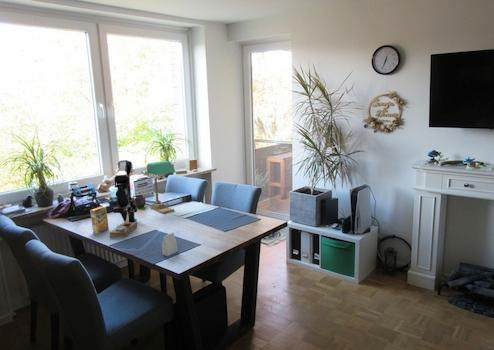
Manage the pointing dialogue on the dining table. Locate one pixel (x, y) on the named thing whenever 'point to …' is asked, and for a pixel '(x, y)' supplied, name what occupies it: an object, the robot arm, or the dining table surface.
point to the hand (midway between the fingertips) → (126, 219)
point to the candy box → (99, 219)
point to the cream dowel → (126, 219)
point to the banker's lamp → (156, 169)
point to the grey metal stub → (120, 227)
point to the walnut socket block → (126, 230)
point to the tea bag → (169, 244)
